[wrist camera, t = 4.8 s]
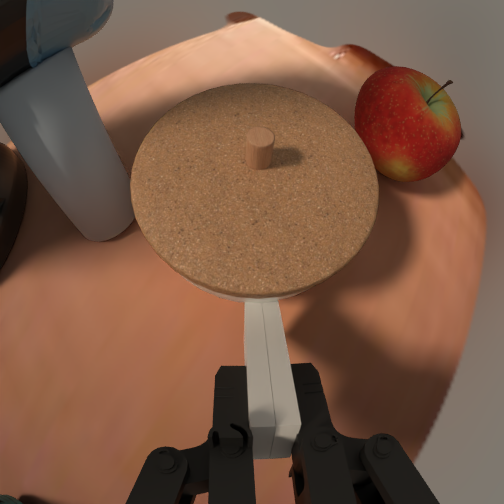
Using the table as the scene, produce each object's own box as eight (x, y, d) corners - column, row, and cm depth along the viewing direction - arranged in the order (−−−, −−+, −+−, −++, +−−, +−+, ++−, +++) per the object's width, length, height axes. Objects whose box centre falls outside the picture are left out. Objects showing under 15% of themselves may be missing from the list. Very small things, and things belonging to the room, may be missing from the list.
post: (76, 205, 20) (-1, 82, 9) (131, 175, 21) (71, 37, 10) (84, 253, 17) (-23, 115, 7) (147, 219, 18) (67, 53, 8)
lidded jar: (308, 158, 21) (342, 59, 12) (347, 300, 18) (435, 255, 9) (163, 175, 20) (128, 74, 11) (176, 329, 17) (114, 308, 8)
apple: (383, 114, 24) (425, 35, 14) (437, 181, 21) (504, 112, 12) (319, 135, 22) (354, 33, 12) (380, 216, 20) (458, 131, 10)
